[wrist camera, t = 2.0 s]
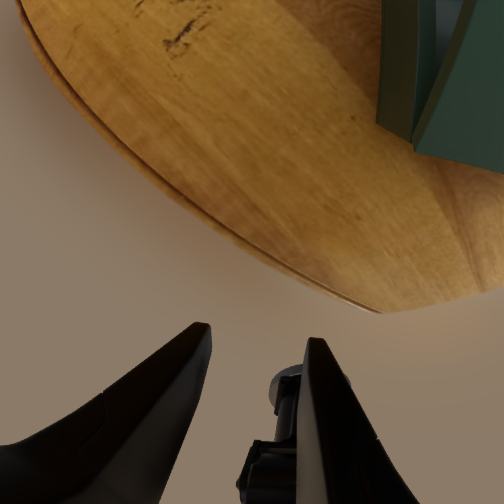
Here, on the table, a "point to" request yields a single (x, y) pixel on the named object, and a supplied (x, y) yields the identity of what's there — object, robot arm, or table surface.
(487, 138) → the lid
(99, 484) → the robot arm
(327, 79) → the table surface
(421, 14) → the chest
